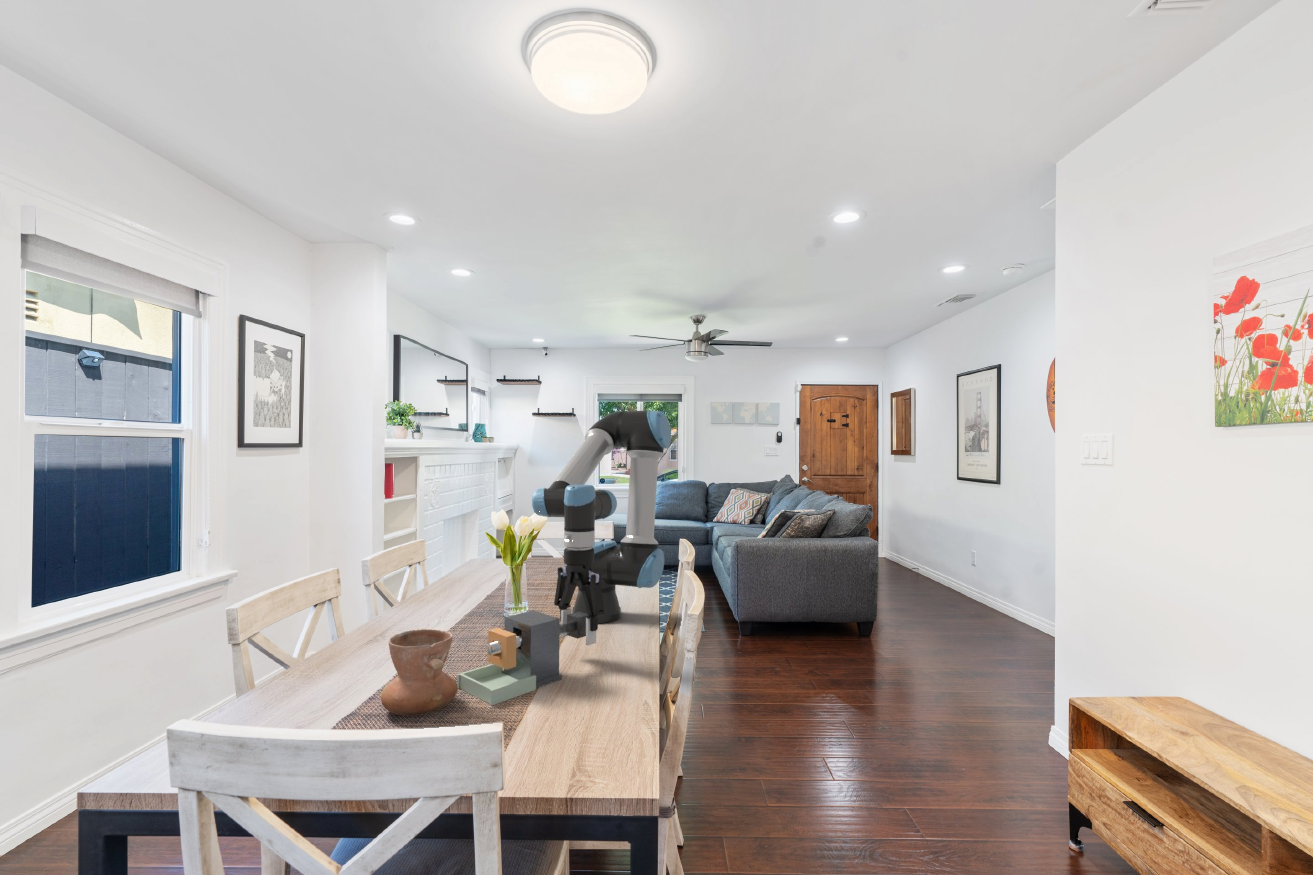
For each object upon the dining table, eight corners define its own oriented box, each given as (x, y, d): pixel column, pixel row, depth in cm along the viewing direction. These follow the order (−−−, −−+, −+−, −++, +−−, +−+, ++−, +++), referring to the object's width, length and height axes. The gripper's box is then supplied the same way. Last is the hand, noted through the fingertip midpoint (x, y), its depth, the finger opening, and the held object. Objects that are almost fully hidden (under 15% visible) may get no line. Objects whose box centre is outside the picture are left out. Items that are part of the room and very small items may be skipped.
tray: (501, 674, 142) (501, 661, 142) (535, 689, 133) (536, 675, 133) (457, 687, 133) (457, 674, 133) (491, 705, 124) (491, 690, 124)
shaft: (579, 631, 153) (579, 611, 153) (589, 634, 151) (590, 614, 151) (484, 658, 133) (485, 635, 133) (495, 663, 131) (495, 639, 131)
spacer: (497, 658, 137) (497, 627, 137) (516, 666, 133) (516, 634, 133) (487, 661, 135) (488, 630, 136) (506, 669, 131) (506, 636, 131)
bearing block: (529, 666, 147) (530, 609, 147) (561, 679, 139) (562, 619, 139) (501, 675, 141) (502, 616, 141) (533, 689, 133) (533, 626, 133)
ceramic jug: (472, 709, 122) (473, 638, 123) (399, 731, 112) (401, 653, 113) (434, 685, 135) (435, 621, 136) (365, 703, 125) (367, 633, 126)
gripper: (540, 544, 155) (539, 633, 155) (597, 554, 141) (596, 653, 140) (563, 541, 161) (562, 627, 160) (620, 550, 146) (619, 645, 146)
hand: (578, 639), depth 150 cm, fingers open, 9 cm apart
